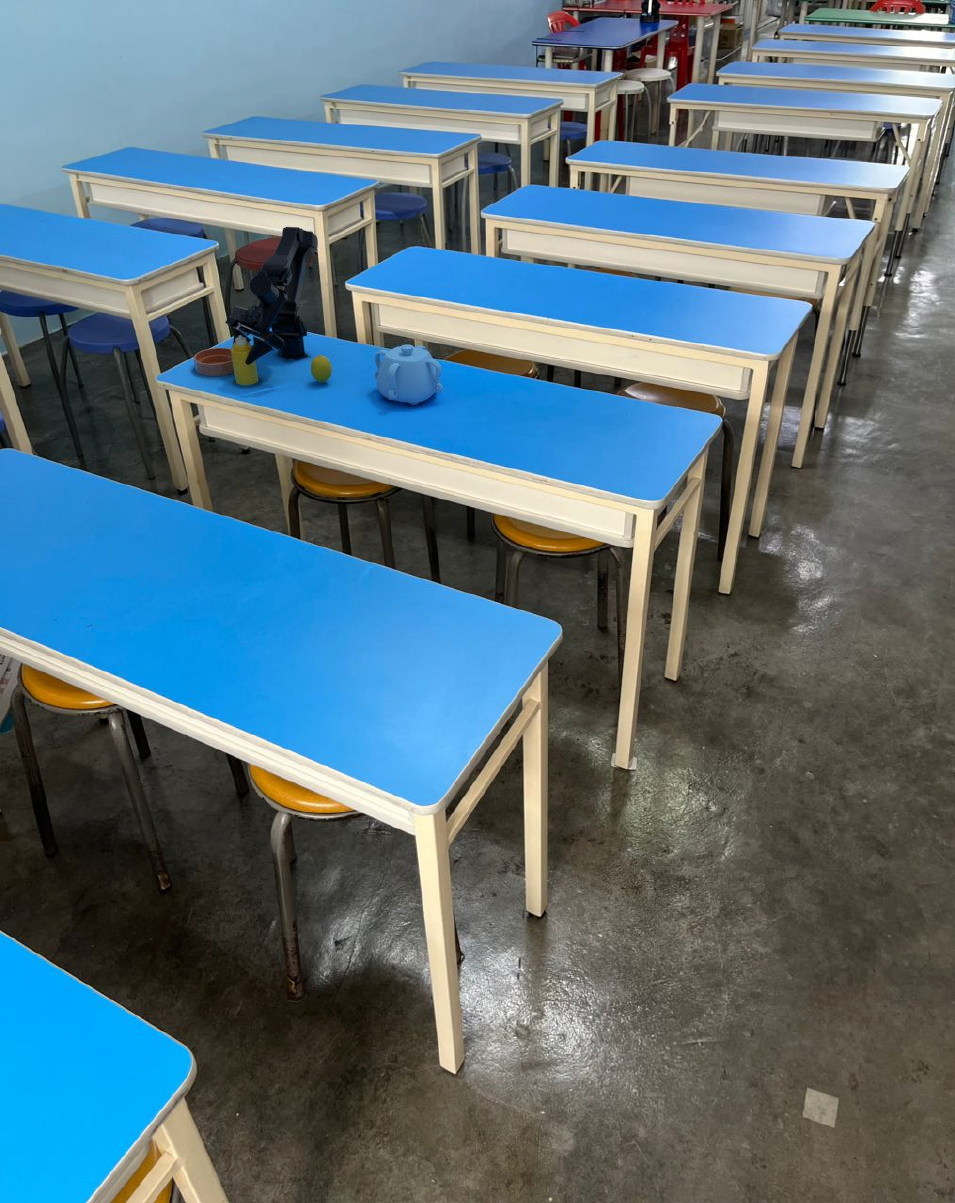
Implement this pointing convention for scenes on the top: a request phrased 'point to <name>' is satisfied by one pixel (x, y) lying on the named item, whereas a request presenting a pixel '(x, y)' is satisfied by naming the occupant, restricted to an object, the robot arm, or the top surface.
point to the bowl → (214, 362)
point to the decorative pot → (407, 374)
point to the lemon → (321, 368)
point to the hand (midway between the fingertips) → (239, 360)
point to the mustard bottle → (243, 362)
